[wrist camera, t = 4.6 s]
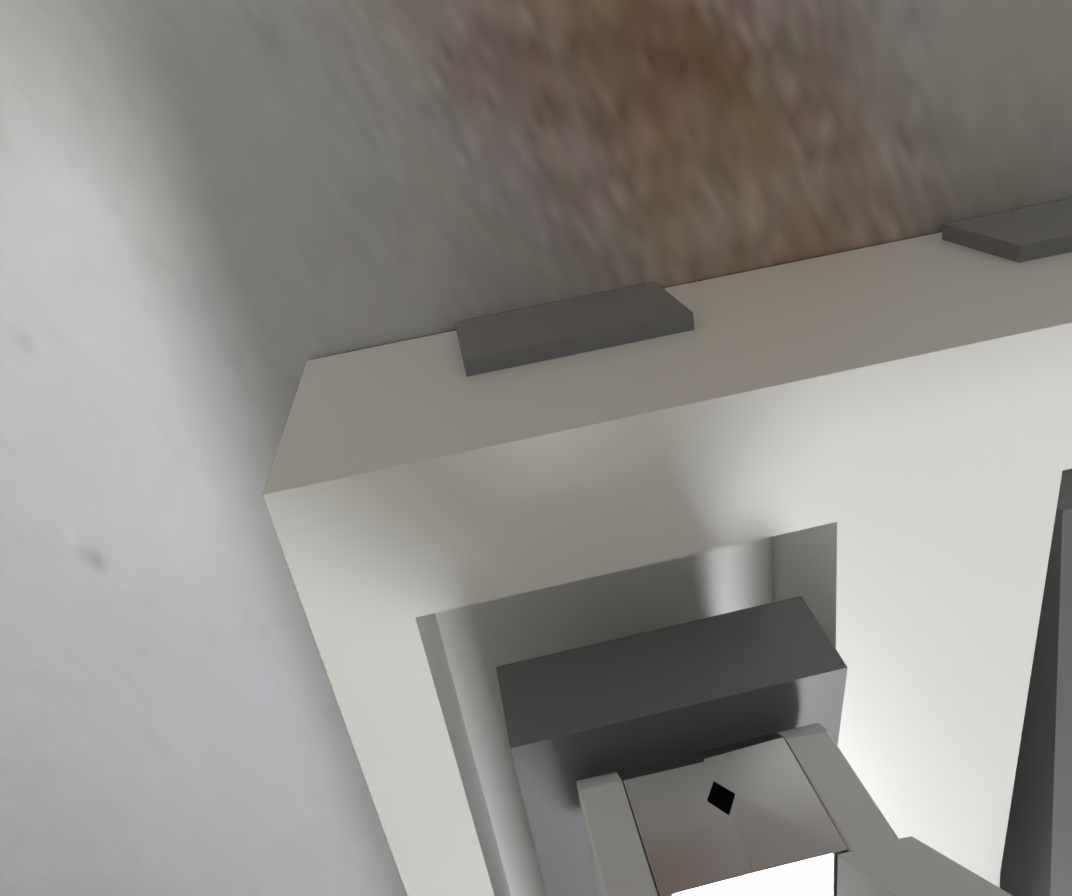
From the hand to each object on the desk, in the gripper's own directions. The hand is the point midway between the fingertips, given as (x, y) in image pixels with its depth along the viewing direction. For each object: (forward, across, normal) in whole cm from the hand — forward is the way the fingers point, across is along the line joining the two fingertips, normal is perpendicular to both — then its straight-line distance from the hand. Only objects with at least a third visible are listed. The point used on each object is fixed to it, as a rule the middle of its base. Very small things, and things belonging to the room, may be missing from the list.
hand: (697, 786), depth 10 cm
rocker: (+2, 0, -5) cm, 5 cm away
